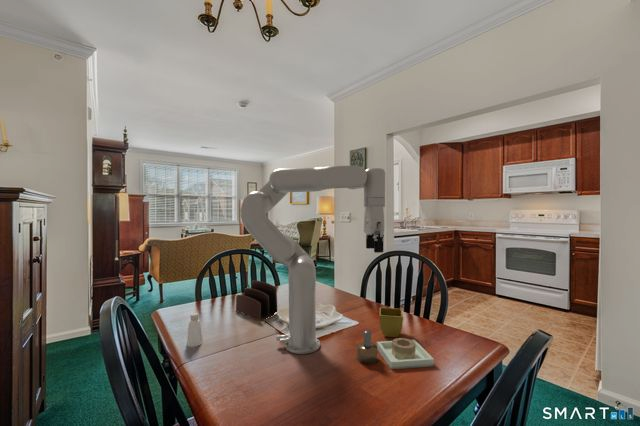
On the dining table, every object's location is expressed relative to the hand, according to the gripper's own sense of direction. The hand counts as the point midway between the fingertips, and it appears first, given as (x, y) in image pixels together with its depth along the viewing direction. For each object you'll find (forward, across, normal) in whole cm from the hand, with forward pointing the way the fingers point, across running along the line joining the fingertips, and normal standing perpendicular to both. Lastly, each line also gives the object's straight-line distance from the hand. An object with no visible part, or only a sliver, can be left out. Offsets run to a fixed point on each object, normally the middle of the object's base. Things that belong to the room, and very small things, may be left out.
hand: (374, 250), depth 108 cm
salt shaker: (+34, -9, -65) cm, 74 cm away
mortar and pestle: (+34, +10, -6) cm, 36 cm away
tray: (+34, +10, +7) cm, 36 cm away
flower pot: (+34, -7, +9) cm, 36 cm away
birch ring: (+34, +10, +7) cm, 36 cm away
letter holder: (+35, -38, -45) cm, 69 cm away
